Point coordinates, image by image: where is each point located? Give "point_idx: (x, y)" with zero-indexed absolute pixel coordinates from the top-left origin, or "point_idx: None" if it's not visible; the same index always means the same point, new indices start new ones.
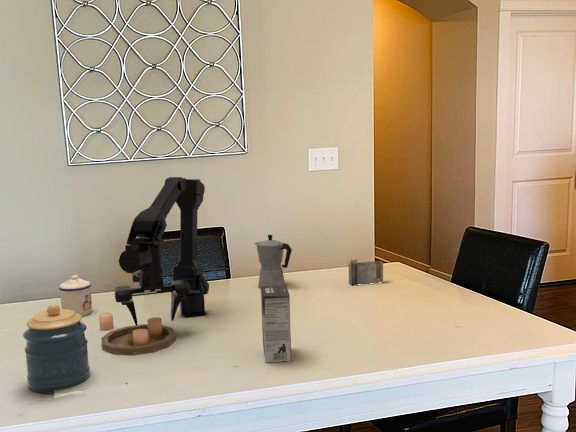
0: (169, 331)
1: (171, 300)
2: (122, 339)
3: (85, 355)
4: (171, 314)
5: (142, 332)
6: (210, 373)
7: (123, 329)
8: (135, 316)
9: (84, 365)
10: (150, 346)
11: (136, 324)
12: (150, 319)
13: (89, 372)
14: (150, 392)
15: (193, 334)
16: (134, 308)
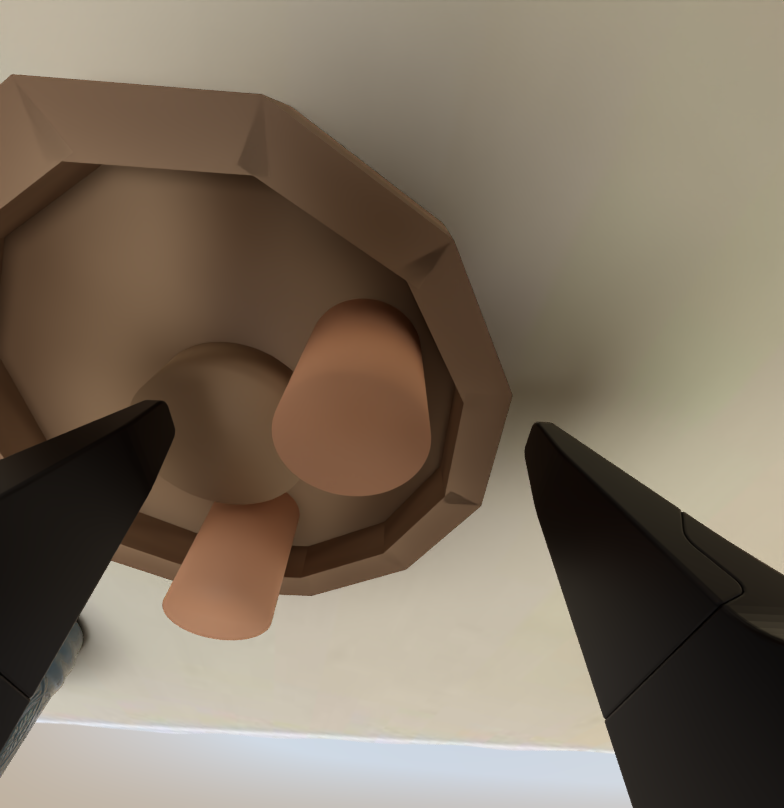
0: (461, 450)
1: (712, 616)
2: (95, 309)
3: (8, 760)
4: (548, 501)
5: (236, 636)
6: (466, 689)
7: (24, 191)
8: (105, 552)
9: (36, 718)
10: (299, 593)
11: (163, 446)
12: (308, 422)
13: (70, 655)
14: (289, 708)
15: (644, 368)
16: (21, 708)
